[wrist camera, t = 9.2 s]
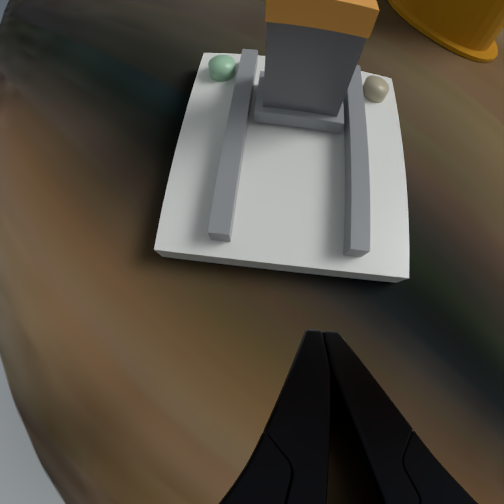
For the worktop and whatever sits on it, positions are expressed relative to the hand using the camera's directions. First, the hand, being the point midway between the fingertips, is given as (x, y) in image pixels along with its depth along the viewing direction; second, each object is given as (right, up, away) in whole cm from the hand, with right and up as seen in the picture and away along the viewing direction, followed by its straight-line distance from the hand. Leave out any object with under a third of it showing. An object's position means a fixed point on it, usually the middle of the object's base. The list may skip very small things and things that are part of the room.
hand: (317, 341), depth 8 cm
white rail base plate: (+1, +9, +15) cm, 18 cm away
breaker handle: (+2, +13, +13) cm, 19 cm away
